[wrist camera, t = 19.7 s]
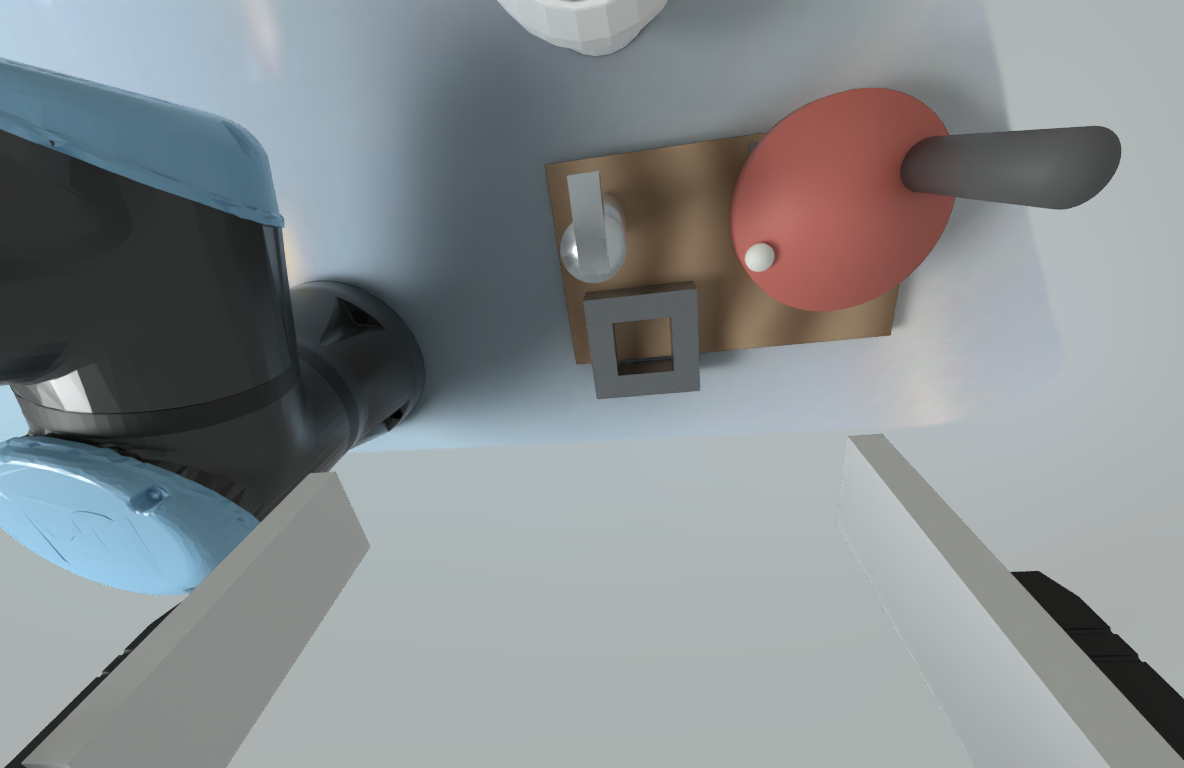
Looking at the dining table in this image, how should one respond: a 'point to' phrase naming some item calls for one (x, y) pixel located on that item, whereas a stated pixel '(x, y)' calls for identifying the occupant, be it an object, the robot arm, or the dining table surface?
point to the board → (693, 255)
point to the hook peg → (593, 230)
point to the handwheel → (887, 191)
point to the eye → (644, 305)
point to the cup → (585, 21)
